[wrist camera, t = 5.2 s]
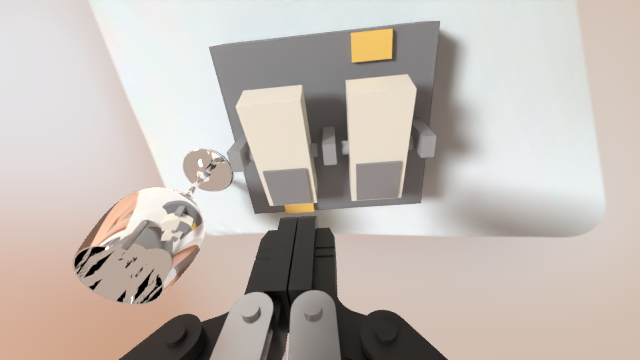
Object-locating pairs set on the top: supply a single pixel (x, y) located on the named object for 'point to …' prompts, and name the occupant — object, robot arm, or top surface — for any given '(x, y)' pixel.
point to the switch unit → (331, 99)
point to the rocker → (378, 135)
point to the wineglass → (150, 236)
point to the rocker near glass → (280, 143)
